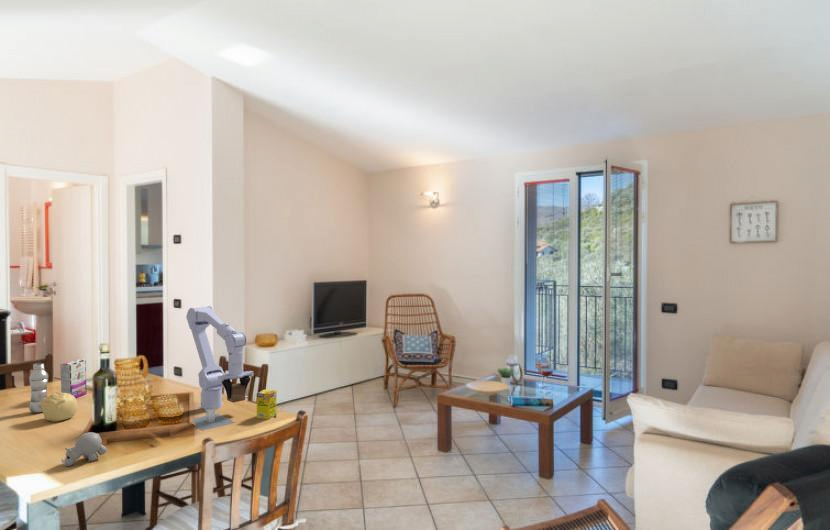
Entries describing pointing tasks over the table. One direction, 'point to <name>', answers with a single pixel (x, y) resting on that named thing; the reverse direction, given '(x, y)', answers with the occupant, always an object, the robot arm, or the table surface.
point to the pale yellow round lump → (59, 406)
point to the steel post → (210, 415)
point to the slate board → (218, 422)
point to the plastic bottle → (38, 387)
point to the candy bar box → (74, 377)
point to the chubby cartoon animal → (85, 448)
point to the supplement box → (266, 404)
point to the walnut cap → (237, 393)
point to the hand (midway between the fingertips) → (236, 396)
